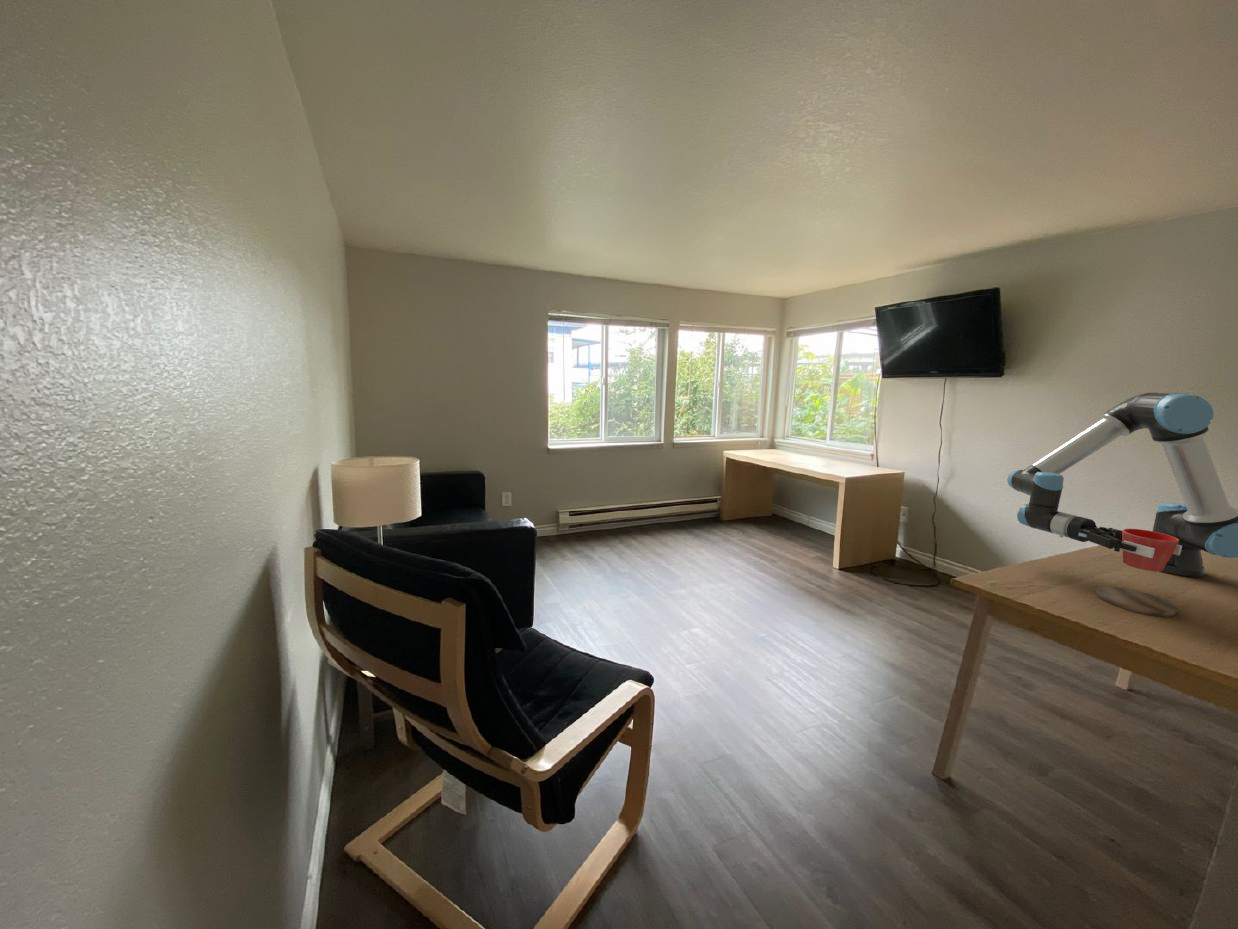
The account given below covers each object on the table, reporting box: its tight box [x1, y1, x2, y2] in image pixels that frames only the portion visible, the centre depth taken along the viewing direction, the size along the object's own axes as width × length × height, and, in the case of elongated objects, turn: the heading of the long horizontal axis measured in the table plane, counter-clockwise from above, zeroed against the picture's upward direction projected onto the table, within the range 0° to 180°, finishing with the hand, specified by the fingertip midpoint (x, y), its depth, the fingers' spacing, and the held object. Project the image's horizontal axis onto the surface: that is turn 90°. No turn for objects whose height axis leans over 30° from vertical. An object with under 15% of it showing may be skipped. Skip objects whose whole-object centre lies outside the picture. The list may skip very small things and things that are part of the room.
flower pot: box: [1121, 528, 1179, 573], centre depth 136 cm, size 11×11×10 cm
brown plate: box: [1095, 585, 1178, 618], centre depth 139 cm, size 16×16×2 cm
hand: (1166, 552), depth 132 cm, fingers closed on flower pot, 10 cm apart
